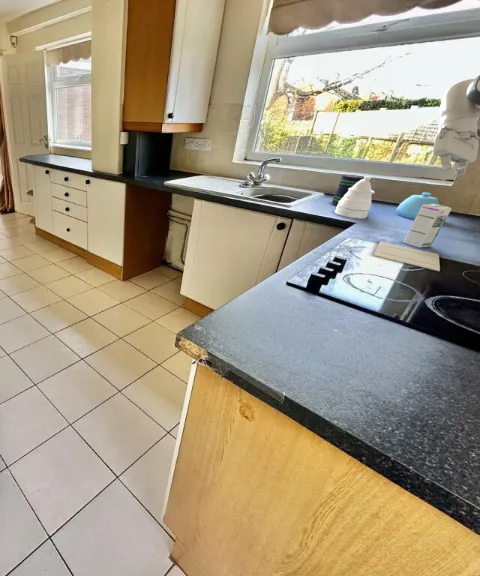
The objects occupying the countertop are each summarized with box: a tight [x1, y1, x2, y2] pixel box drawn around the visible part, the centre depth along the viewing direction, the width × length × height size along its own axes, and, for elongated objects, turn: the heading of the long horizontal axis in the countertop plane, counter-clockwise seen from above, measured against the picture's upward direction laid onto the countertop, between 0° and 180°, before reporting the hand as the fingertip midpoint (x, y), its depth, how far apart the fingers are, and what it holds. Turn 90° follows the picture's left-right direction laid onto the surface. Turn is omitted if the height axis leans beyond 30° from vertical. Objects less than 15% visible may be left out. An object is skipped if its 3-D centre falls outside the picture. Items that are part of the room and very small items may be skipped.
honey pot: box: [334, 175, 376, 220], centre depth 149 cm, size 13×13×18 cm
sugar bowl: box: [396, 192, 440, 220], centre depth 153 cm, size 15×15×12 cm
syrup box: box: [403, 204, 453, 249], centre depth 114 cm, size 6×6×14 cm
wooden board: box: [373, 241, 441, 272], centre depth 107 cm, size 16×20×1 cm
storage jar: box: [331, 174, 365, 206], centre depth 169 cm, size 10×10×15 cm
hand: (453, 172), depth 110 cm, fingers open, 8 cm apart
